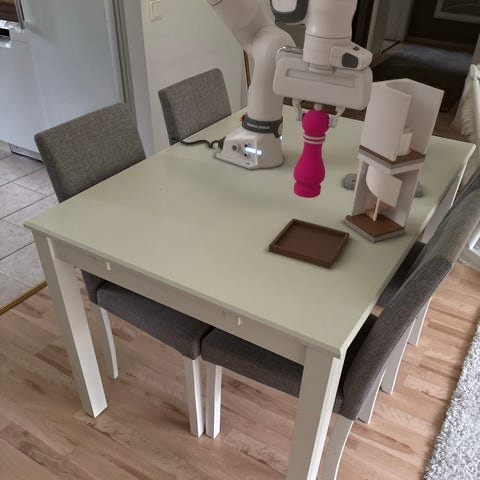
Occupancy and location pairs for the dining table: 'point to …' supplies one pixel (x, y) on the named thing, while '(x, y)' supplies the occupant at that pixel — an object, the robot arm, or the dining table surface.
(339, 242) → the serving tray
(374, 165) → the two-tier shelf stand
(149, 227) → the dining table surface
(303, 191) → the pepper mill
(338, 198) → the dining table surface
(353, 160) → the dining table surface
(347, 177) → the remote control
